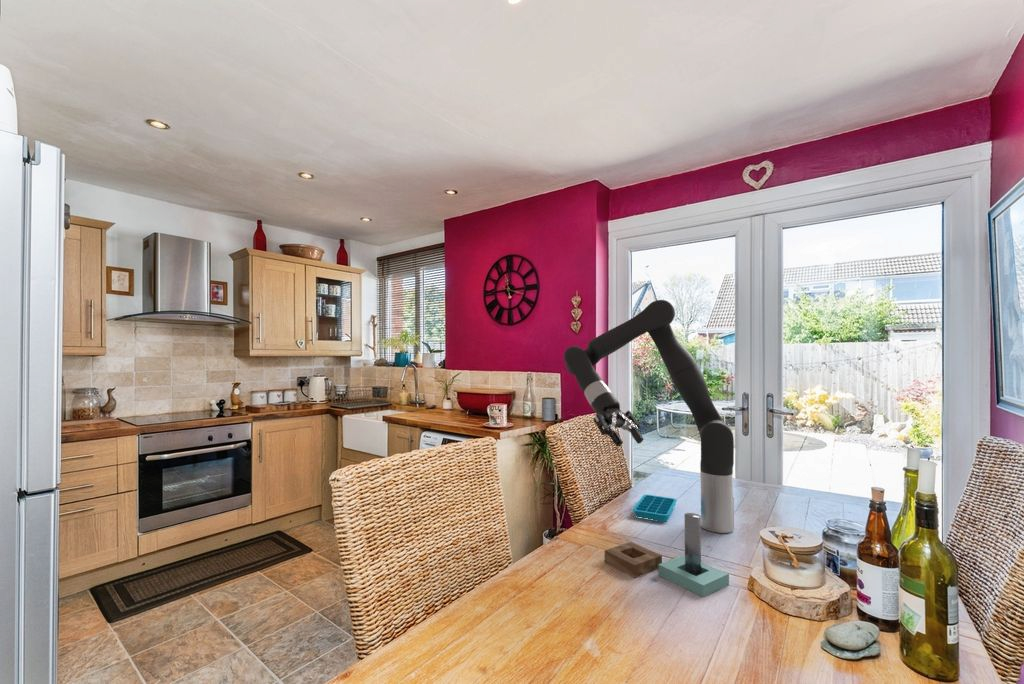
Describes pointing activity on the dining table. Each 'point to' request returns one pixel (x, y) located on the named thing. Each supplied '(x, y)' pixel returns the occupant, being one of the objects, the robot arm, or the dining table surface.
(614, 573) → the dining table surface
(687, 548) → the rod
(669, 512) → the ice cube tray
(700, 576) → the teal square hole base
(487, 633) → the dining table surface
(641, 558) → the socket block
